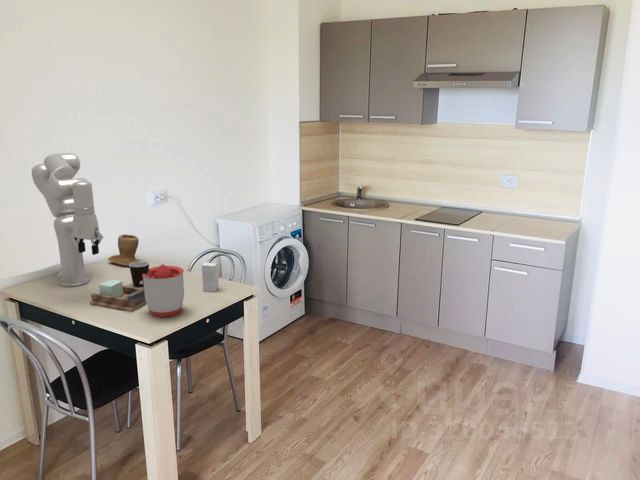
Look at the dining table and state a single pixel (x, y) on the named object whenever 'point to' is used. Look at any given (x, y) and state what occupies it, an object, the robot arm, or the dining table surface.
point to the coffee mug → (138, 272)
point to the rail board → (121, 299)
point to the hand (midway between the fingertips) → (88, 252)
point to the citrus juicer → (164, 290)
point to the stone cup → (126, 250)
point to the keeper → (111, 288)
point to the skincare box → (210, 276)
